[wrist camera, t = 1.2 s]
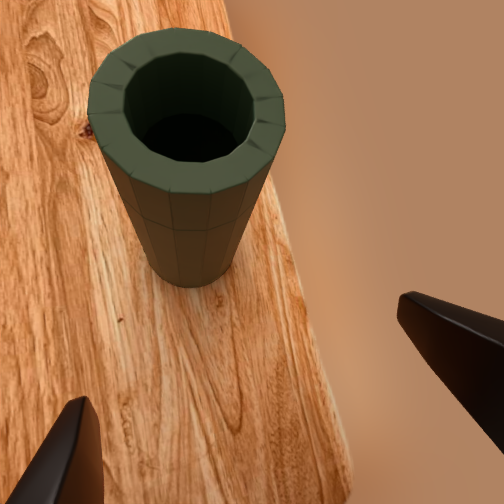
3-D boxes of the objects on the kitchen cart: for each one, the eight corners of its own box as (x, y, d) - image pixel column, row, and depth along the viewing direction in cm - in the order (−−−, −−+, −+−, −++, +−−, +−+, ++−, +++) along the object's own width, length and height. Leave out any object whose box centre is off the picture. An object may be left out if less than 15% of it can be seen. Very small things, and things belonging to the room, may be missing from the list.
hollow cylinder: (235, 287, 24) (292, 197, 10) (143, 288, 23) (78, 189, 9) (233, 206, 25) (279, 37, 12) (147, 203, 24) (95, 17, 11)
